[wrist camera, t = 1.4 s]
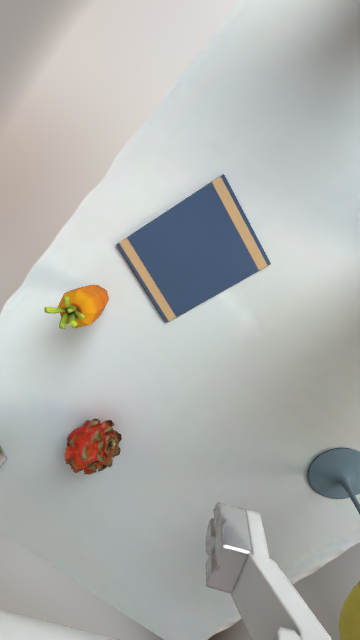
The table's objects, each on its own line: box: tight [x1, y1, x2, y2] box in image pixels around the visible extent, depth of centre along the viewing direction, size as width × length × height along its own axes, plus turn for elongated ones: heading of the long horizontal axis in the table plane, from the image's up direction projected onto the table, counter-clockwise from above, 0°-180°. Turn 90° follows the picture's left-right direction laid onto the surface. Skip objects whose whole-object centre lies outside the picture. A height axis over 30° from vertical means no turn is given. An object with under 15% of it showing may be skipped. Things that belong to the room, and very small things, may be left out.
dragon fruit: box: [65, 419, 121, 474], centre depth 52 cm, size 8×8×12 cm
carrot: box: [45, 285, 109, 329], centre depth 41 cm, size 5×5×15 cm
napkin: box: [117, 174, 271, 323], centre depth 45 cm, size 18×14×1 cm
